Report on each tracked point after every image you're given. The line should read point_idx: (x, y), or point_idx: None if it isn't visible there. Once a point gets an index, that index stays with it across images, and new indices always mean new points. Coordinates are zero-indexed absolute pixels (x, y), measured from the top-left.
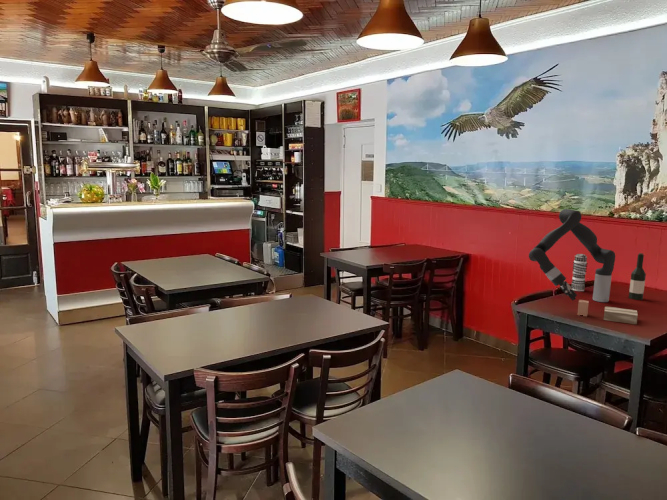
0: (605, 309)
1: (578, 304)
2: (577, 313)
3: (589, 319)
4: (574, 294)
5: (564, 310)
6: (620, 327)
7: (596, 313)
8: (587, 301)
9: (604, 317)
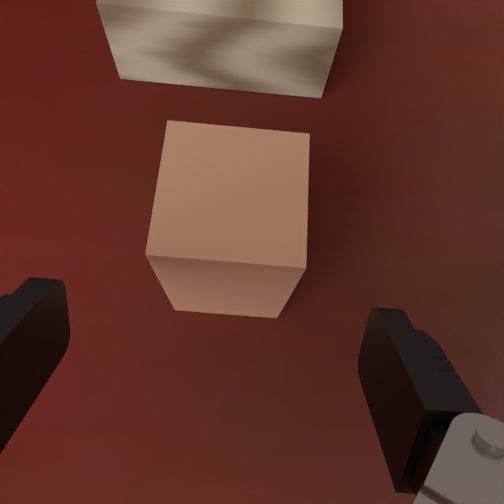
0: (258, 14)
1: (297, 280)
2: (278, 313)
3: (387, 207)
4: (42, 329)
5: (114, 476)
6: (483, 15)
7: (103, 135)
8: (211, 139)
9: (326, 77)
